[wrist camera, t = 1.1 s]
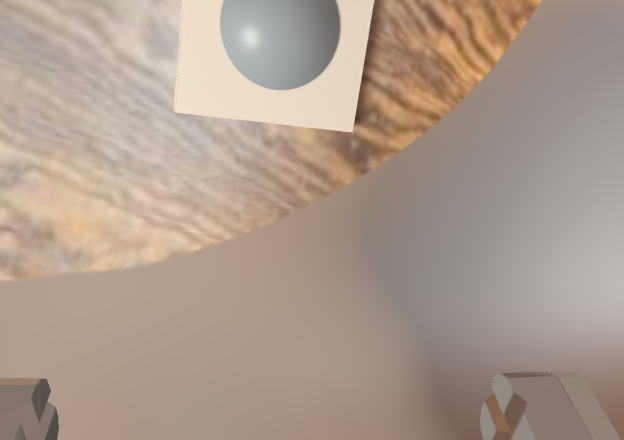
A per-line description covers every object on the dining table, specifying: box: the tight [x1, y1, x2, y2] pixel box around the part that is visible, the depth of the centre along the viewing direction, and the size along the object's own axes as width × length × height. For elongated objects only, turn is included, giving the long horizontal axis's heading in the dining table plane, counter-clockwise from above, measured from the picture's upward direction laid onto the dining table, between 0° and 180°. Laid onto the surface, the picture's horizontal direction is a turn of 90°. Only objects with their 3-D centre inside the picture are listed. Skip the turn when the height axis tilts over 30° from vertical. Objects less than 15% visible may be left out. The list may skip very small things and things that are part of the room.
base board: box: [174, 0, 374, 132], centre depth 41 cm, size 14×14×2 cm
